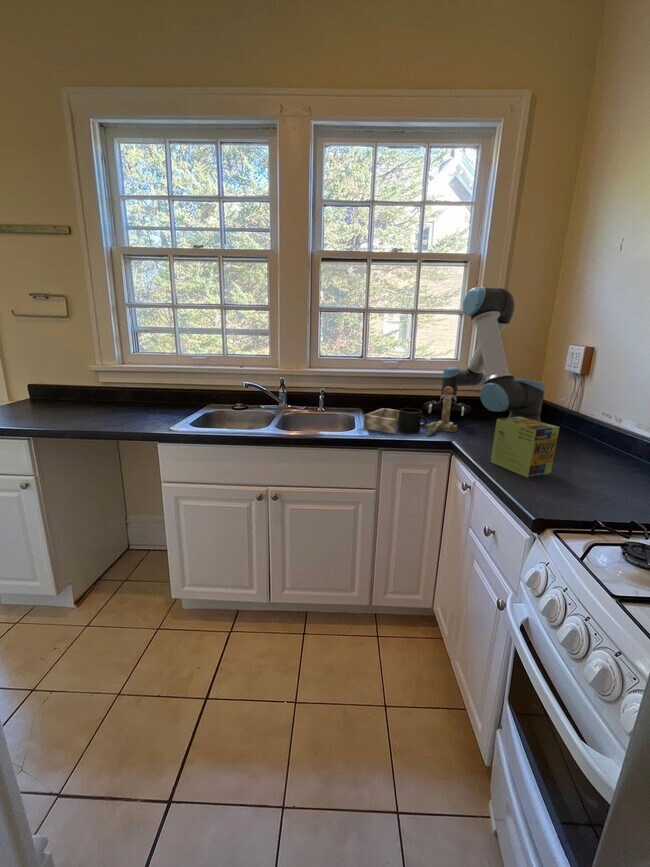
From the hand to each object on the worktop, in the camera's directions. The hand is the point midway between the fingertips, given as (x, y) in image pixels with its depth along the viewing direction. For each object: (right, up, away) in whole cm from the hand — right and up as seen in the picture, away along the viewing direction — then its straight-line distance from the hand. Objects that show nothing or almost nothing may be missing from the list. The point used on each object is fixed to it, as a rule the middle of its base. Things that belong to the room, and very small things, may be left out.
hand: (445, 411), depth 169 cm
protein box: (+12, -21, -39) cm, 46 cm away
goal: (-23, -6, +8) cm, 26 cm away
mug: (-14, -9, +3) cm, 17 cm away
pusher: (-2, -9, +1) cm, 9 cm away
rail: (-6, -7, +9) cm, 13 cm away
